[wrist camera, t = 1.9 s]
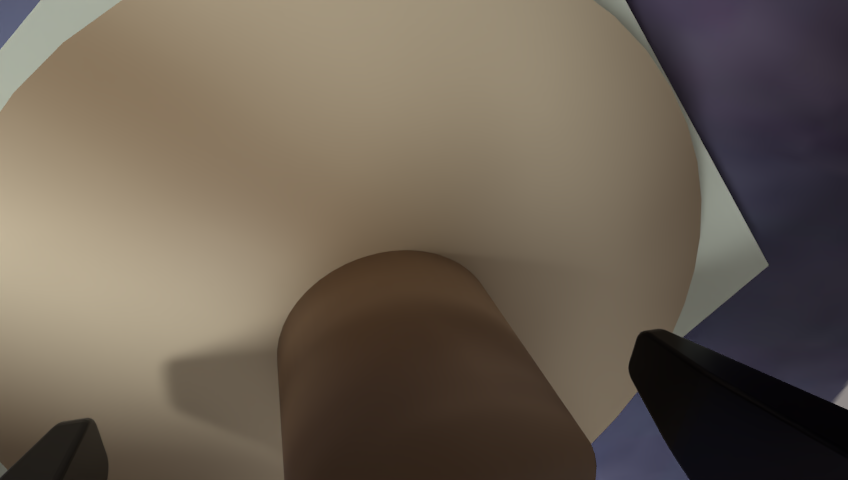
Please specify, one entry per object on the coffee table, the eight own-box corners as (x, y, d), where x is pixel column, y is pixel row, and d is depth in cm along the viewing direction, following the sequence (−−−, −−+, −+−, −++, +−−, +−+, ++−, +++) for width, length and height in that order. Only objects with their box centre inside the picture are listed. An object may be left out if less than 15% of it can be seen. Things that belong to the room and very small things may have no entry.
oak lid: (375, 578, 15) (418, 796, 11) (-221, 390, 8) (-666, 805, 4) (746, 266, 13) (954, 399, 9) (388, -341, 6) (630, -854, 2)
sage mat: (370, 572, 15) (374, 593, 15) (-251, 369, 8) (-285, 397, 8) (749, 253, 13) (768, 265, 13) (380, -398, 6) (392, -431, 6)
